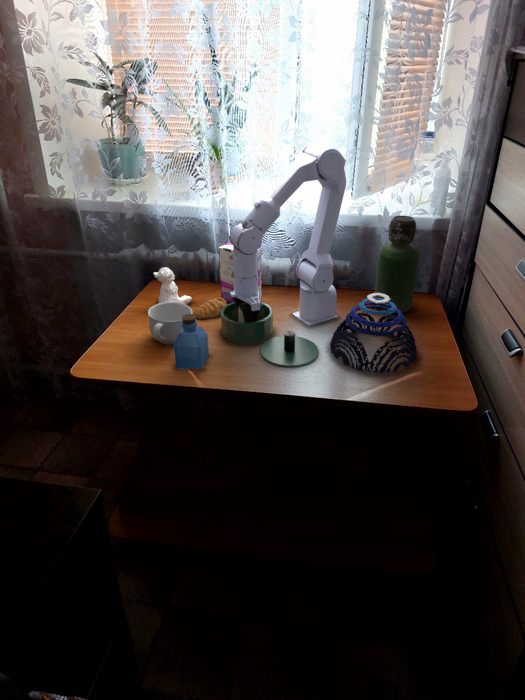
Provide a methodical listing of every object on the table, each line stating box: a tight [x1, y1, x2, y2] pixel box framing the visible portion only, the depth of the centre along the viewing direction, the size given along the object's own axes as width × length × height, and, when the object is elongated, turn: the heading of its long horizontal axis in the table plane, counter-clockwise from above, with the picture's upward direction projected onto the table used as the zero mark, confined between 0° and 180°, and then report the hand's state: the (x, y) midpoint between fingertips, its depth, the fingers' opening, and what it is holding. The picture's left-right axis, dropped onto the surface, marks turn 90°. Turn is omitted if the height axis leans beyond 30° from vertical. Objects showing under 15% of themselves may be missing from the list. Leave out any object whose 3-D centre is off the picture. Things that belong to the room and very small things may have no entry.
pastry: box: [193, 296, 228, 320], centre depth 146 cm, size 9×7×4 cm
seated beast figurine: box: [153, 266, 193, 306], centre depth 148 cm, size 10×9×12 cm
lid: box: [260, 330, 319, 368], centre depth 128 cm, size 14×14×6 cm
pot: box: [220, 301, 274, 344], centre depth 137 cm, size 13×13×6 cm
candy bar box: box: [218, 242, 263, 304], centre depth 149 cm, size 11×5×16 cm, turn 58°
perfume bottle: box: [173, 313, 210, 371], centre depth 123 cm, size 6×6×12 cm
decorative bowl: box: [329, 292, 418, 374], centre depth 126 cm, size 20×20×14 cm
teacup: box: [147, 302, 193, 345], centre depth 133 cm, size 14×11×8 cm
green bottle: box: [373, 215, 420, 314], centre depth 144 cm, size 10×10×25 cm
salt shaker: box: [237, 303, 247, 323], centre depth 136 cm, size 4×4×7 cm
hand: (247, 324), depth 137 cm, fingers closed on salt shaker, 4 cm apart
